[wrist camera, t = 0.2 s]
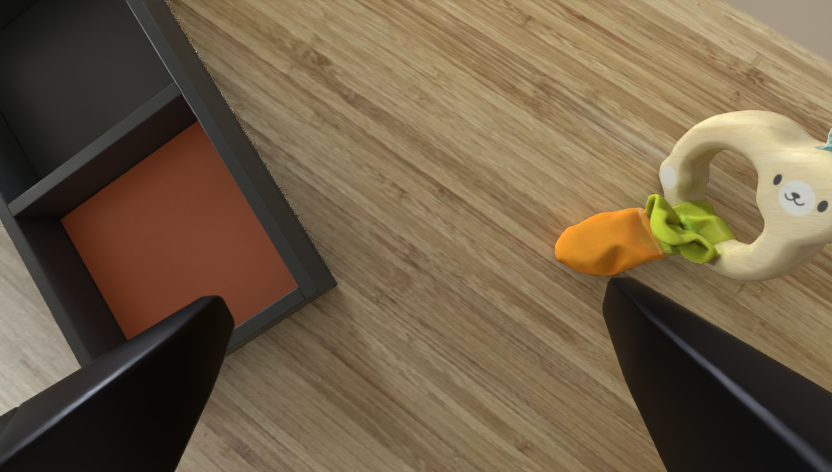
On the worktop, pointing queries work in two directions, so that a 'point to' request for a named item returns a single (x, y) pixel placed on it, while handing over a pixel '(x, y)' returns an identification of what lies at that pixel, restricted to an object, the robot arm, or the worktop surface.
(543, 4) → the worktop surface
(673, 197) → the rattle
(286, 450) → the worktop surface
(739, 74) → the worktop surface
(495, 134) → the worktop surface
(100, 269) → the tray
